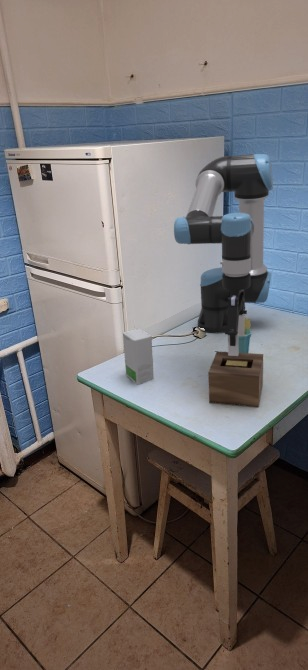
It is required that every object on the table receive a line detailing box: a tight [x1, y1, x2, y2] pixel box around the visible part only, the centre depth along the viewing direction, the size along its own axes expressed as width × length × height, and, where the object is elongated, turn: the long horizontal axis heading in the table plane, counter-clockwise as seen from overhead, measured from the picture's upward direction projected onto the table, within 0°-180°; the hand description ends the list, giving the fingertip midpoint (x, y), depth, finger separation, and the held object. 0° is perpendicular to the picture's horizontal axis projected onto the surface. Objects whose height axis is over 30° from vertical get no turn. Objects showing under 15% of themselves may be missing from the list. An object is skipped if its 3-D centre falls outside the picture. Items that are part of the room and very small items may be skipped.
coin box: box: [207, 351, 264, 408], centre depth 138 cm, size 14×14×10 cm
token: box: [226, 360, 248, 368], centre depth 138 cm, size 3×6×9 cm, turn 73°
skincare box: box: [122, 327, 154, 385], centre depth 151 cm, size 8×7×16 cm
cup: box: [238, 317, 252, 353], centre depth 156 cm, size 14×8×15 cm, turn 150°
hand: (236, 345), depth 134 cm, fingers open, 13 cm apart
